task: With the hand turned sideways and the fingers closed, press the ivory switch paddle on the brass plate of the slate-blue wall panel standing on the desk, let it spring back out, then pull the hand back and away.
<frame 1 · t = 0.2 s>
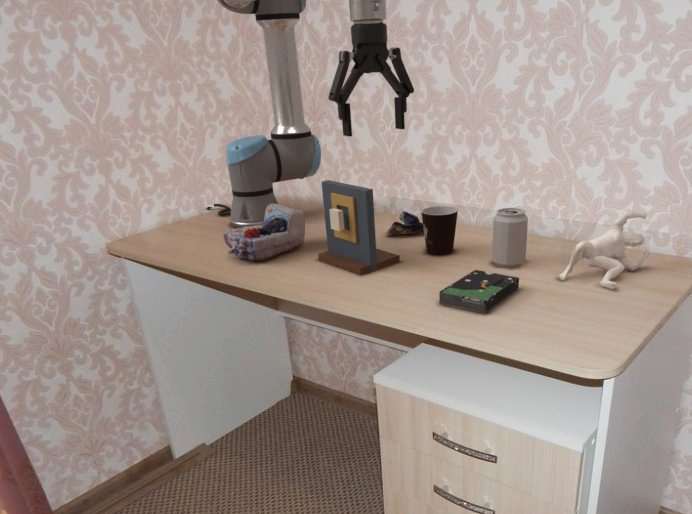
hand: (374, 132, 139), 28 cm above the table, tool pointing down, fingers open, 13 cm apart
coffee mug: (440, 250, 153), on the table
cell model: (267, 253, 157), on the table
disk drive: (479, 297, 125), on the table
can: (508, 263, 142), on the table
snack package: (409, 233, 167), on the table
switch wall: (352, 263, 147), on the table
switch paddle: (336, 219, 140), point 11 cm above the table, slide at 0.1 cm
person figurine: (604, 274, 133), on the table
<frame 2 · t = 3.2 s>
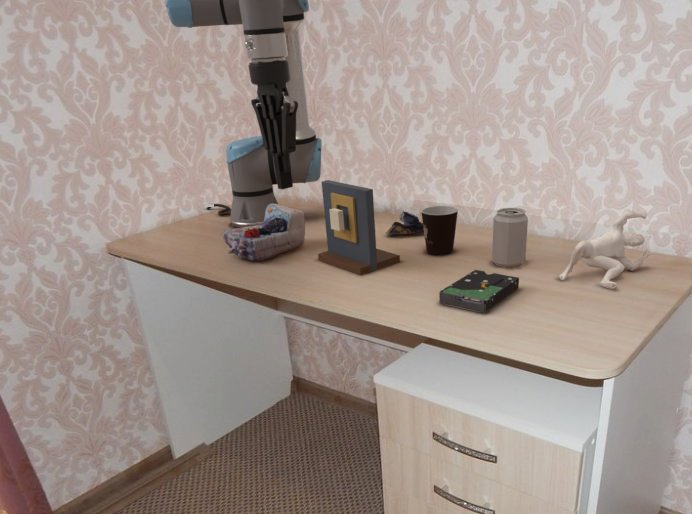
hand: (285, 187, 129), 20 cm above the table, tool pointing down, fingers closed
nothing on the table moved.
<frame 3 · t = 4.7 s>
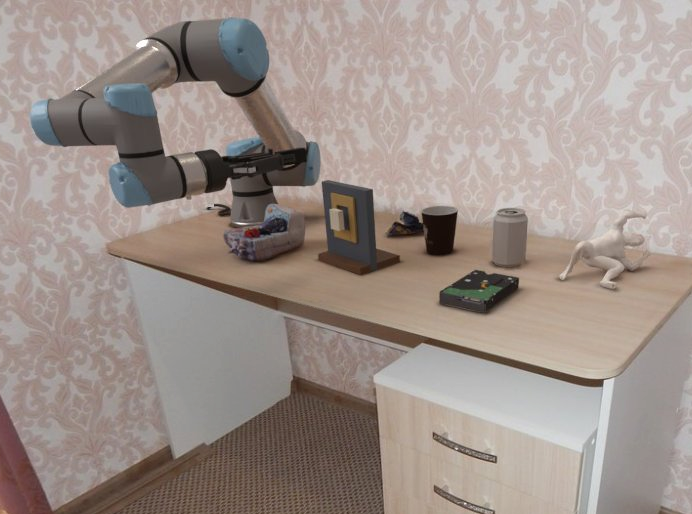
hand: (303, 154, 129), 26 cm above the table, tool horizontal, fingers closed
nothing on the table moved.
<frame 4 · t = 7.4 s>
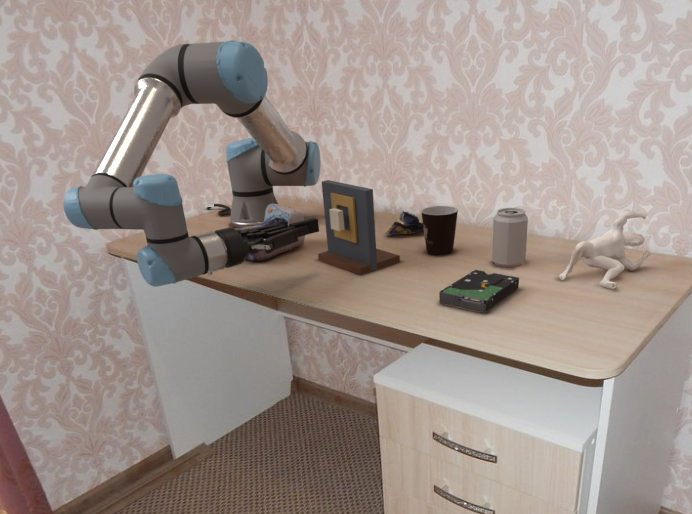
hand: (316, 224, 137), 11 cm above the table, tool horizontal, fingers closed
nothing on the table moved.
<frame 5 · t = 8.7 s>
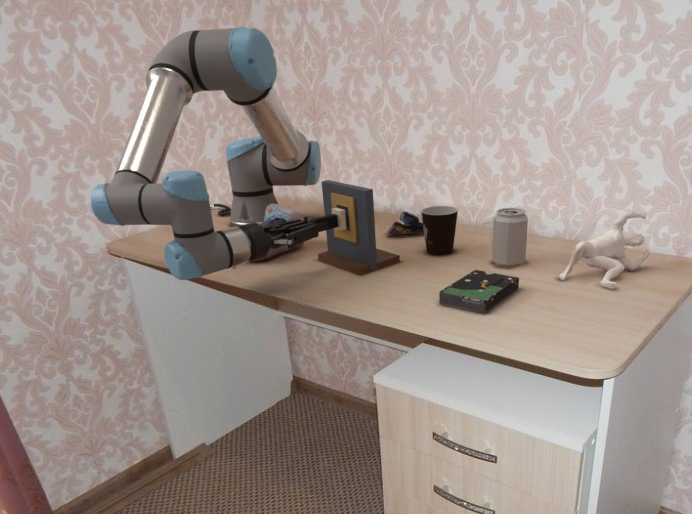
hand: (335, 220, 140), 11 cm above the table, tool horizontal, fingers closed
switch paddle: (339, 219, 140), point 11 cm above the table, slide at -0.5 cm, touching gripper
everything else where it was.
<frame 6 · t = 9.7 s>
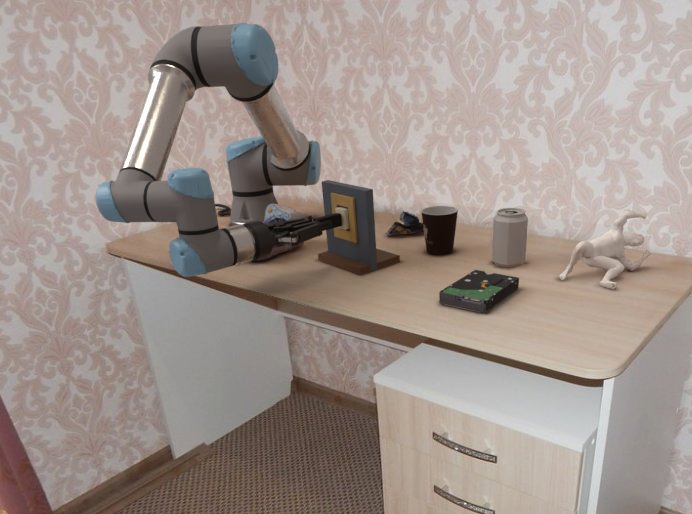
hand: (339, 219, 140), 11 cm above the table, tool horizontal, fingers closed
switch paddle: (342, 218, 141), point 11 cm above the table, slide at -1.6 cm, touching gripper, switch wall
everything else where it was.
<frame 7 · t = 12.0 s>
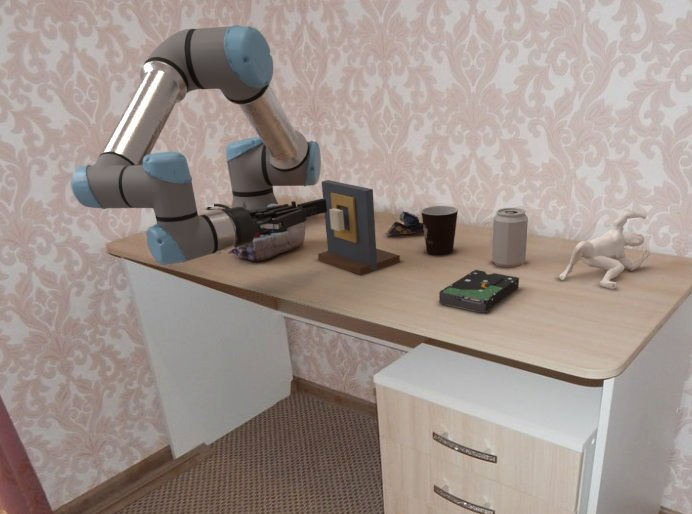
hand: (324, 205, 136), 15 cm above the table, tool horizontal, fingers closed
switch paddle: (336, 219, 140), point 11 cm above the table, slide at 0.1 cm
everything else where it was.
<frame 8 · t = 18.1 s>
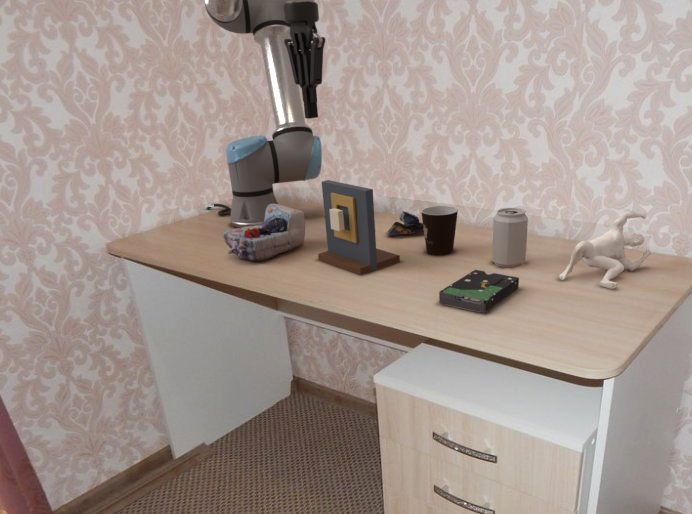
hand: (311, 117, 148), 30 cm above the table, tool pointing down, fingers closed
nothing on the table moved.
at the end: switch paddle pushed in 1.6 cm at the most during the clip, back to where it started at the end; switch paddle slide at 0.1 cm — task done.
